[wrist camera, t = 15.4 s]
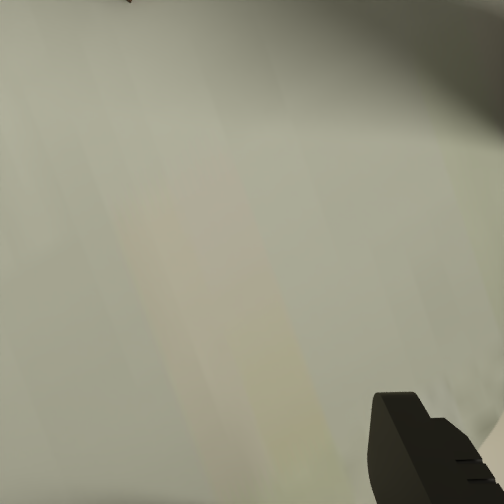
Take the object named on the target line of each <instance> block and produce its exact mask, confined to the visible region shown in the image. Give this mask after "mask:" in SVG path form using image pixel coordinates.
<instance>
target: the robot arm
mask: <svg viewBox="0 0 504 504" xmlns="http://www.w3.org/2000/svg"><path fill="white" fill-rule="evenodd" d="M367 463H368V473H369V479H370V483H371V487H372V490H373V493H374V496H375V499H376V502H377V504H504V491H503V490H502V488H501V487H500V485H499V484H498V483H497V484H496V482H495V477H494V476H493V474H492V473H491V472H490V470H489V468H488V467H487V466H486V464H483V462H482V458H481V456H480V455H479V453H478V452H477V450H476V449H475V447H474V446H473V444H472V443H471V441H470V440H469V438H468V437H467V436H466V435H465V434H464V433H463V432H461V431H460V430H459V429H458V428H456V427H455V426H454V425H453V424H451V423H450V422H449V421H448V420H446V419H445V418H430V416H429V414H428V413H427V411H426V409H425V408H424V406H423V404H422V403H421V401H420V399H419V397H418V396H417V394H416V393H414V392H381V393H375V395H374V397H373V402H372V412H371V422H370V432H369V442H368V453H367Z"/></svg>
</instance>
